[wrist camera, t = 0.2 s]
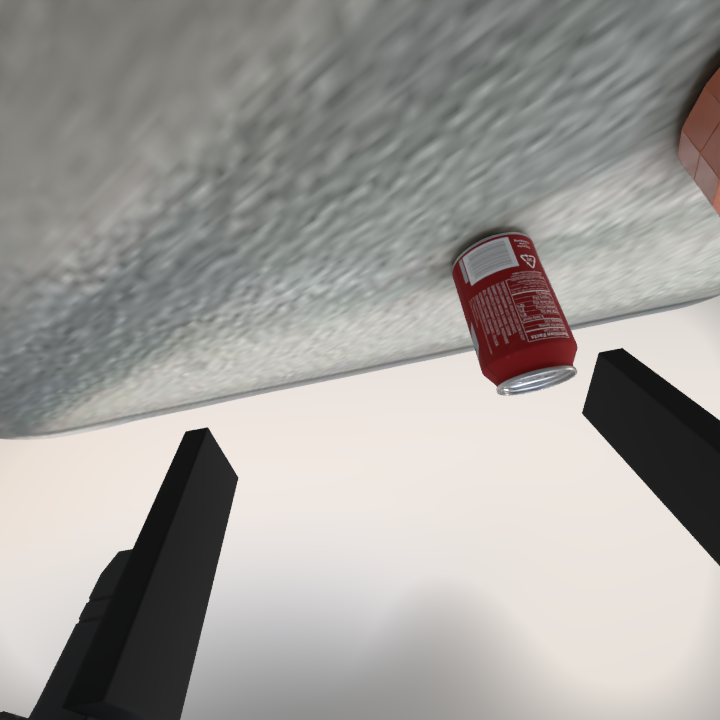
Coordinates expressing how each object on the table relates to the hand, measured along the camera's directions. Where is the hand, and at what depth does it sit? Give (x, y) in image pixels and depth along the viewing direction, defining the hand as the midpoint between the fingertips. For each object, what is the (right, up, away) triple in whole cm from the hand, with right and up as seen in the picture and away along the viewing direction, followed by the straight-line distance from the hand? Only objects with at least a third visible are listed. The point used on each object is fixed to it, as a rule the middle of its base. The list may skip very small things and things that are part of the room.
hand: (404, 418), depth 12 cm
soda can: (+10, +11, +18) cm, 23 cm away
